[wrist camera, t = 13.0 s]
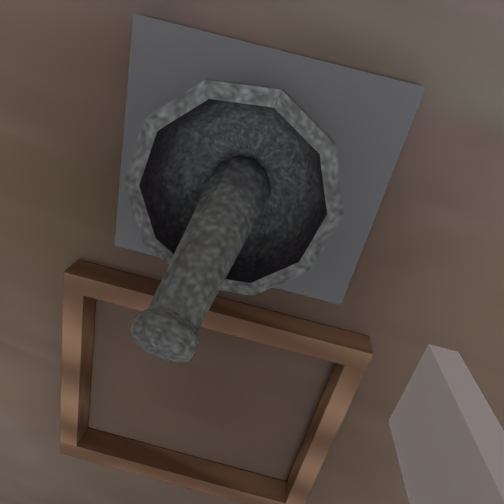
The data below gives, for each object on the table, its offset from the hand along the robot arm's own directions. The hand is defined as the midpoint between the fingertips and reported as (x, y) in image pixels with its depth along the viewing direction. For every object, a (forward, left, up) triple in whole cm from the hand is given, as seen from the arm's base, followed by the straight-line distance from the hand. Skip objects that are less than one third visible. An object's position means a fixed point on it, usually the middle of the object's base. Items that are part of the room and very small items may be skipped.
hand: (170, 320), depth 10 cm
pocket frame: (-19, 0, -16) cm, 25 cm away
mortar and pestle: (0, 0, -15) cm, 15 cm away
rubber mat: (0, 0, -16) cm, 16 cm away
